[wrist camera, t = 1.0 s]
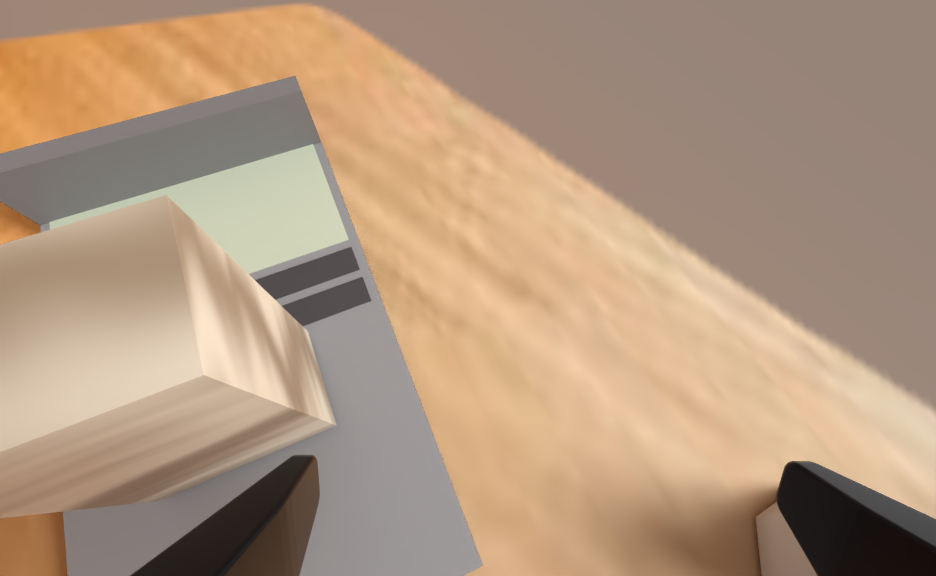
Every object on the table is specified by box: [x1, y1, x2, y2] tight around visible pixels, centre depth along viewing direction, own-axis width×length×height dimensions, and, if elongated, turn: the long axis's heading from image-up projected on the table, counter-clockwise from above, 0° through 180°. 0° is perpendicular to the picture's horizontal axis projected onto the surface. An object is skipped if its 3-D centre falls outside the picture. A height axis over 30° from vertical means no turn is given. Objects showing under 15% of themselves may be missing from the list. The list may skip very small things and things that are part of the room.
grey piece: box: [0, 76, 483, 576], centre depth 21 cm, size 26×16×6 cm, turn 23°
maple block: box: [0, 195, 337, 519], centre depth 15 cm, size 5×8×12 cm, turn 113°
